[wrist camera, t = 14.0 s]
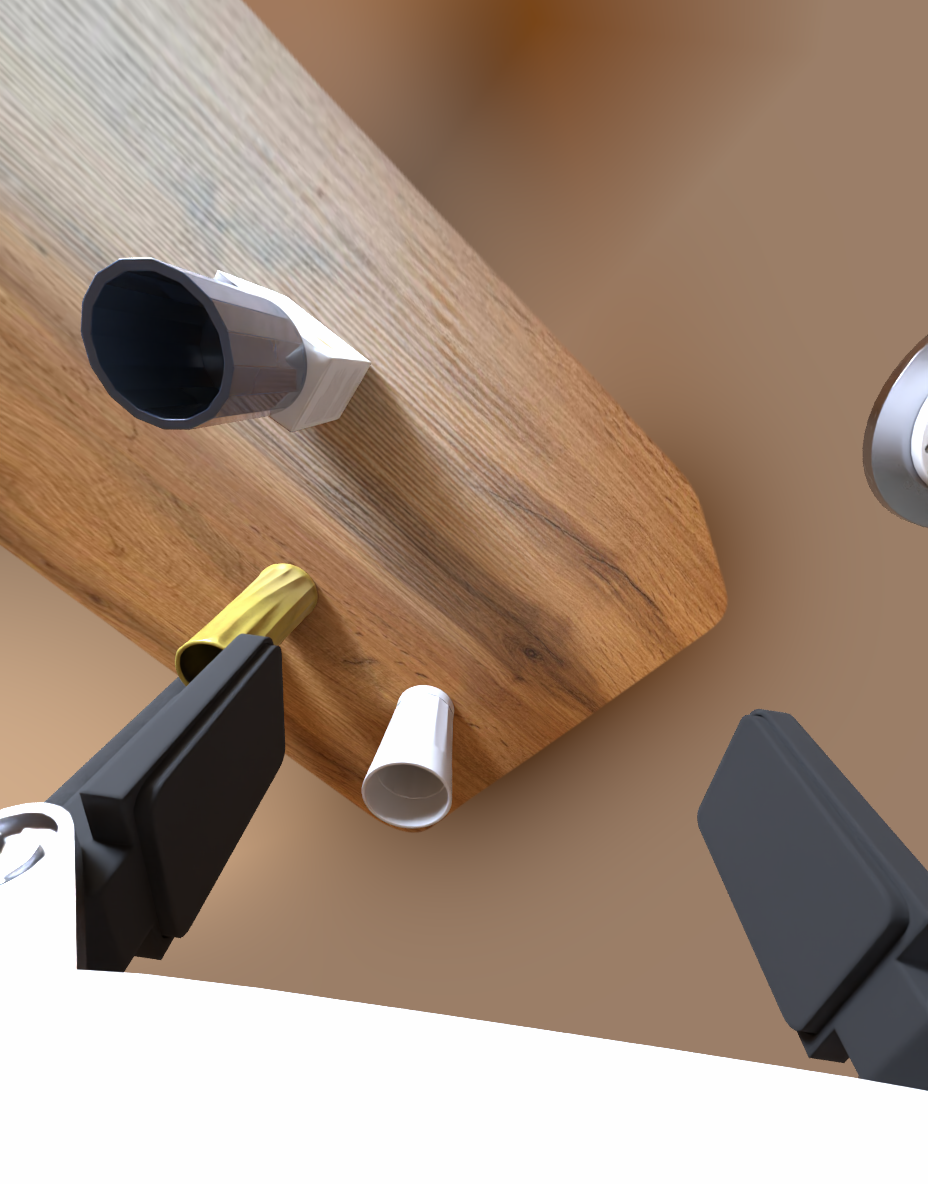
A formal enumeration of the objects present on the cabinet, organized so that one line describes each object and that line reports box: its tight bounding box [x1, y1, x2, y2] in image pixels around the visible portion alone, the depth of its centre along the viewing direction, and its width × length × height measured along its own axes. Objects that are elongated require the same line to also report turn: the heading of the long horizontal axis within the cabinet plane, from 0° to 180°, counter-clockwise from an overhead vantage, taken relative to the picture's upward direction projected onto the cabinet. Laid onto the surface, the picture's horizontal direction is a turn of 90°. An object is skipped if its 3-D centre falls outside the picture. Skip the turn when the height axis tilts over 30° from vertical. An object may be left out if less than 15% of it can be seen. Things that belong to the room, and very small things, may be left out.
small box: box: [214, 271, 371, 432], centre depth 34 cm, size 8×6×10 cm
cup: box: [362, 685, 454, 828], centre depth 47 cm, size 8×8×12 cm
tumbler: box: [81, 258, 307, 430], centre depth 25 cm, size 7×7×9 cm
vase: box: [175, 564, 318, 686], centre depth 41 cm, size 6×6×14 cm
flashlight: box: [44, 677, 186, 807], centre depth 39 cm, size 5×24×5 cm
